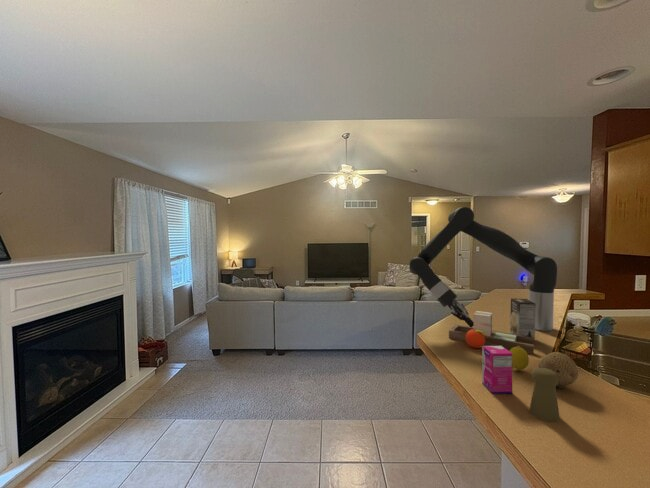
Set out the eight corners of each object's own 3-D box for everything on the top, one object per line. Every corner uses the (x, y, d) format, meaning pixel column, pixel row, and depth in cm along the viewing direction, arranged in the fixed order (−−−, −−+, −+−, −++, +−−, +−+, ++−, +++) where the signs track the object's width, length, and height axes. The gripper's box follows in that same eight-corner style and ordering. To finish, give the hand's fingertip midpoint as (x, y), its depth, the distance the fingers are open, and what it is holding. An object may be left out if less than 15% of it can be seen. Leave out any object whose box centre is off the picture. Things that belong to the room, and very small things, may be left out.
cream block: (476, 329, 130) (476, 310, 129) (492, 332, 126) (492, 313, 126) (473, 333, 125) (473, 314, 125) (489, 336, 121) (490, 316, 121)
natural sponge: (580, 399, 81) (581, 362, 80) (539, 390, 85) (540, 355, 85) (575, 384, 88) (575, 351, 88) (537, 377, 93) (538, 345, 93)
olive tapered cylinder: (523, 407, 77) (524, 365, 76) (545, 406, 77) (546, 364, 77) (542, 422, 71) (543, 376, 70) (566, 421, 71) (567, 375, 71)
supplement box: (481, 383, 89) (481, 345, 89) (501, 383, 89) (502, 345, 89) (491, 394, 83) (492, 353, 83) (513, 394, 83) (514, 353, 83)
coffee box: (509, 334, 132) (509, 297, 132) (525, 335, 131) (526, 298, 130) (518, 341, 123) (518, 302, 123) (535, 342, 122) (536, 303, 122)
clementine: (490, 347, 117) (490, 329, 117) (485, 353, 112) (485, 334, 112) (468, 342, 123) (468, 325, 122) (462, 347, 117) (462, 329, 117)
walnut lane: (455, 331, 137) (455, 324, 137) (534, 345, 120) (534, 337, 120) (448, 337, 128) (448, 330, 128) (533, 354, 111) (533, 345, 111)
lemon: (525, 368, 99) (525, 344, 99) (530, 375, 94) (531, 350, 94) (506, 365, 101) (506, 342, 101) (510, 373, 96) (510, 348, 96)
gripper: (445, 290, 128) (477, 324, 121) (453, 286, 138) (483, 316, 131) (432, 301, 131) (462, 335, 124) (441, 296, 142) (469, 326, 135)
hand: (473, 325), depth 128 cm, fingers closed
